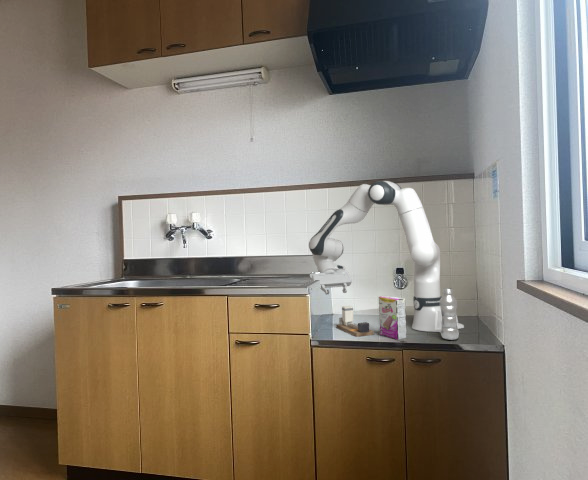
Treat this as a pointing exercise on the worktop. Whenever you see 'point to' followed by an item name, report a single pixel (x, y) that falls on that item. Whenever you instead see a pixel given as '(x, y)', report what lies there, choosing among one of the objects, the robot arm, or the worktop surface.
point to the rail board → (352, 329)
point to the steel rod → (359, 326)
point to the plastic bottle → (449, 315)
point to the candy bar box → (392, 317)
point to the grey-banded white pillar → (347, 314)
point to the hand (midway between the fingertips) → (336, 292)
